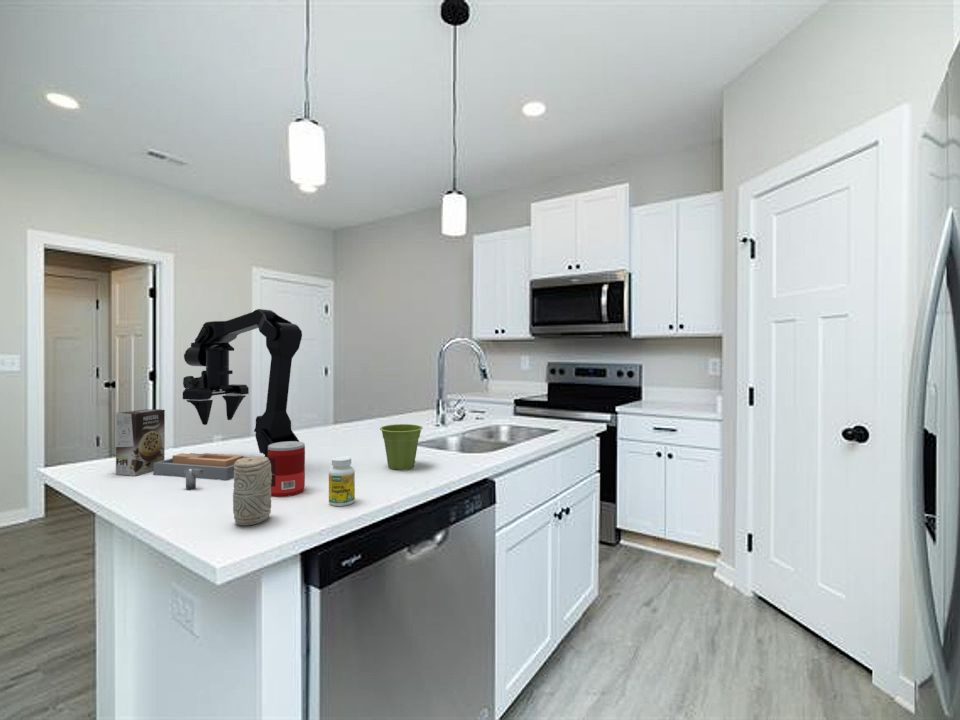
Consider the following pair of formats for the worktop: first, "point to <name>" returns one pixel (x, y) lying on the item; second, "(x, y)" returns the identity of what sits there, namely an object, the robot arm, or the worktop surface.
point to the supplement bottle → (341, 482)
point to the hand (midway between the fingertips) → (217, 422)
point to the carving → (252, 490)
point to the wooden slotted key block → (206, 459)
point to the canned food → (287, 468)
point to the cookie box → (139, 441)
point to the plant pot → (401, 444)
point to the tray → (178, 469)
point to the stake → (191, 477)
